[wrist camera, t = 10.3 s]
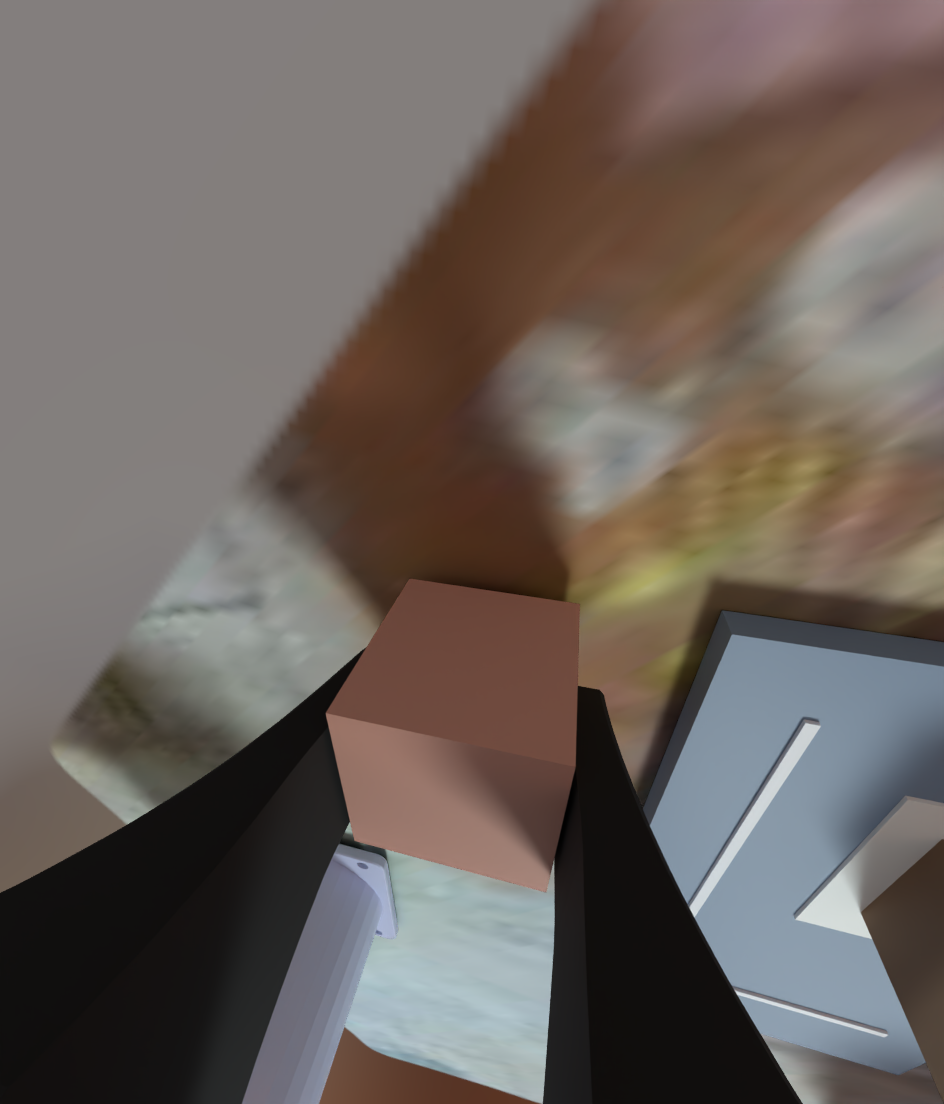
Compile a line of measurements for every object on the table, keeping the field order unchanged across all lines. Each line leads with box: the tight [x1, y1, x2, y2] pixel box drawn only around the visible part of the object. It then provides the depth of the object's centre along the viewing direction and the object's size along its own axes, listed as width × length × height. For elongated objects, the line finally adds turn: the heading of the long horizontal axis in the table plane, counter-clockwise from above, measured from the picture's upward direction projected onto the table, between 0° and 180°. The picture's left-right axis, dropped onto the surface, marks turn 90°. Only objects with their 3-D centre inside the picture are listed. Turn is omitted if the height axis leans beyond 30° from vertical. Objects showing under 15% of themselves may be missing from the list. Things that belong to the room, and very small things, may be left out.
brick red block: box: [326, 579, 580, 892], centre depth 9 cm, size 4×4×4 cm
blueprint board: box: [643, 610, 944, 1075], centre depth 13 cm, size 12×20×1 cm, turn 178°
